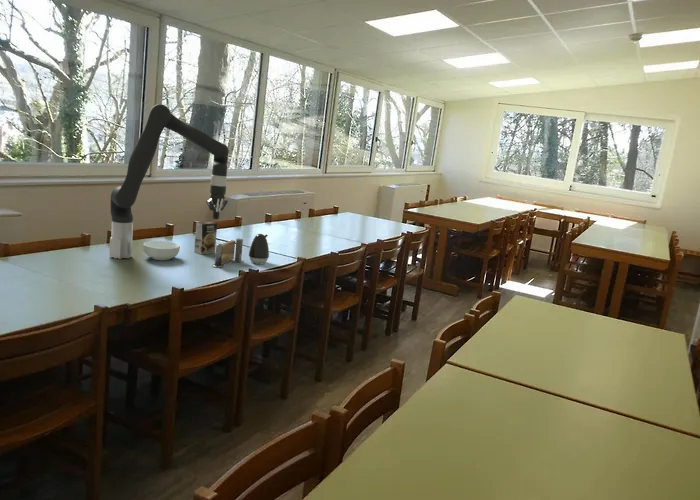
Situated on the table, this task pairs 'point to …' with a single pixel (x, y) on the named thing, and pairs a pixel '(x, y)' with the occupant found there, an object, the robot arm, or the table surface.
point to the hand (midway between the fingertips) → (215, 219)
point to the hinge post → (218, 256)
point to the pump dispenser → (259, 249)
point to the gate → (227, 251)
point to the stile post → (238, 251)
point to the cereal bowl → (161, 249)
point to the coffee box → (205, 237)
